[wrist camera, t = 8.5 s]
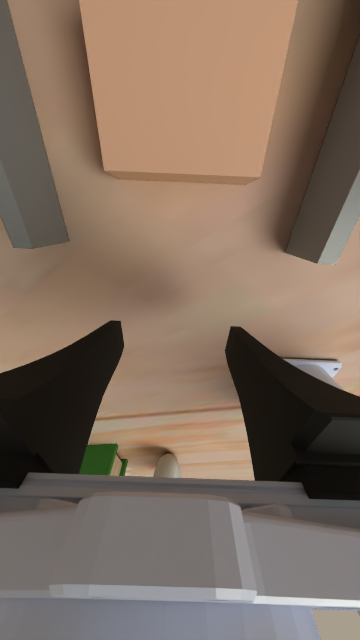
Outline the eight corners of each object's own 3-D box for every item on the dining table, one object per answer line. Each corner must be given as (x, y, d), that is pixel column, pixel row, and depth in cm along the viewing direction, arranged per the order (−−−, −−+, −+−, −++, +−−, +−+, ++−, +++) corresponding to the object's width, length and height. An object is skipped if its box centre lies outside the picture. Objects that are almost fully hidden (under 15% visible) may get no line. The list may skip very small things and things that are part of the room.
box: (299, 253, 14) (335, 264, 11) (54, 240, 14) (13, 247, 11) (425, -75, 8) (631, -323, 4) (-54, -120, 7) (-274, -437, 4)
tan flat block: (244, 185, 12) (260, 177, 10) (120, 180, 12) (104, 170, 10) (268, 48, 9) (301, -16, 7) (104, 39, 9) (74, -29, 7)
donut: (153, 444, 32) (143, 528, 23) (171, 442, 31) (167, 527, 23) (168, 466, 37) (164, 542, 28) (184, 465, 36) (184, 541, 28)
